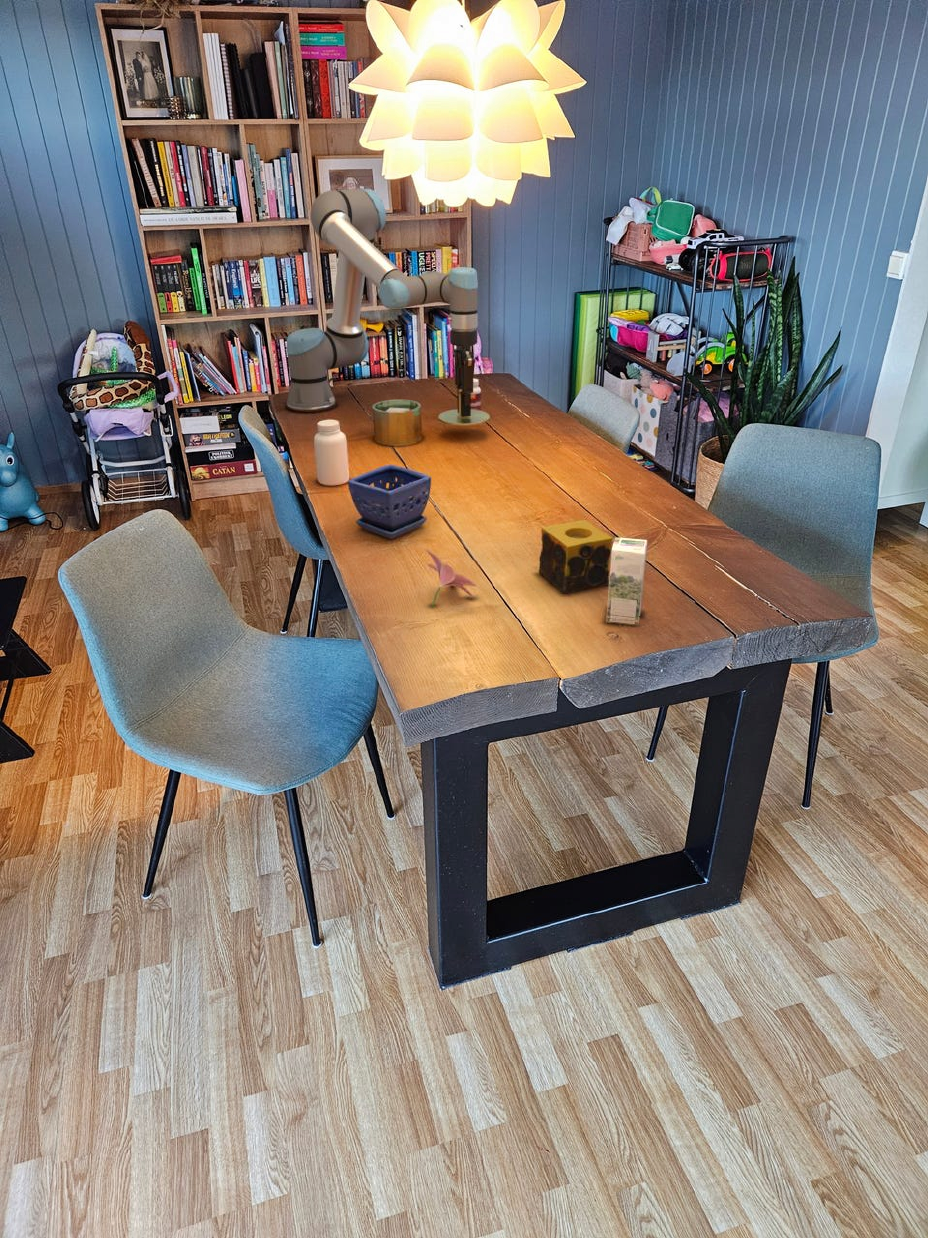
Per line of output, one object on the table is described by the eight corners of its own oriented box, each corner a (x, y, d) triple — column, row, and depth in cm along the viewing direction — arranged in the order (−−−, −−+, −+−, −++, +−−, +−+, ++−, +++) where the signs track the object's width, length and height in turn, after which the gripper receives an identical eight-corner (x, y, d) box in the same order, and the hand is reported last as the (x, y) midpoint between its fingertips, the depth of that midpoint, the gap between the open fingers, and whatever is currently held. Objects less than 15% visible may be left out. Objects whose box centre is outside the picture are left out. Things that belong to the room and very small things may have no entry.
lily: (477, 620, 159) (493, 569, 158) (417, 603, 155) (432, 551, 154) (458, 610, 170) (472, 562, 170) (401, 594, 166) (416, 545, 166)
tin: (370, 434, 256) (368, 401, 251) (416, 429, 259) (415, 397, 254) (378, 448, 244) (376, 414, 239) (427, 443, 247) (425, 410, 243)
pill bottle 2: (466, 419, 267) (466, 383, 262) (457, 415, 272) (456, 379, 266) (484, 417, 269) (484, 380, 264) (475, 412, 274) (474, 376, 269)
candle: (537, 573, 173) (539, 526, 168) (582, 564, 177) (584, 518, 172) (563, 595, 165) (565, 546, 160) (609, 585, 168) (613, 537, 164)
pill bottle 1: (315, 486, 218) (309, 427, 211) (320, 475, 225) (315, 417, 218) (347, 486, 218) (342, 427, 210) (351, 475, 225) (347, 417, 217)
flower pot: (392, 545, 186) (389, 492, 180) (349, 530, 193) (345, 478, 188) (434, 526, 195) (433, 475, 189) (392, 512, 202) (389, 462, 196)
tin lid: (433, 414, 256) (432, 385, 251) (481, 411, 259) (481, 381, 255) (445, 429, 243) (444, 398, 239) (496, 425, 246) (496, 394, 242)
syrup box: (641, 611, 159) (648, 538, 152) (638, 627, 154) (645, 551, 147) (609, 608, 160) (614, 535, 153) (605, 623, 155) (611, 548, 148)
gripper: (443, 324, 245) (444, 407, 256) (457, 335, 231) (458, 423, 243) (469, 322, 246) (469, 405, 258) (485, 334, 233) (484, 421, 244)
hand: (464, 413), depth 250 cm, fingers closed on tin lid, 3 cm apart
